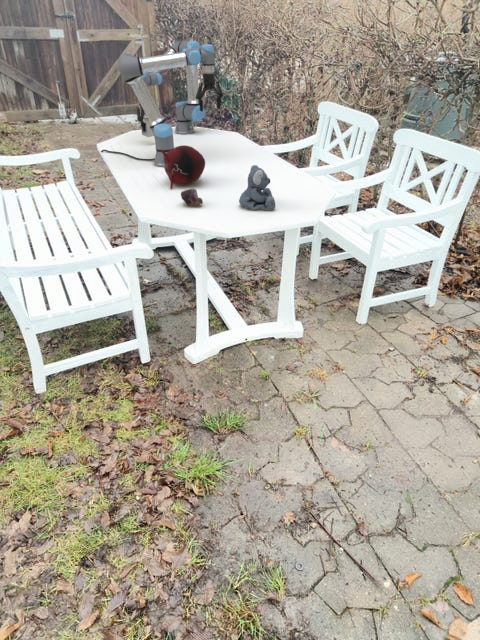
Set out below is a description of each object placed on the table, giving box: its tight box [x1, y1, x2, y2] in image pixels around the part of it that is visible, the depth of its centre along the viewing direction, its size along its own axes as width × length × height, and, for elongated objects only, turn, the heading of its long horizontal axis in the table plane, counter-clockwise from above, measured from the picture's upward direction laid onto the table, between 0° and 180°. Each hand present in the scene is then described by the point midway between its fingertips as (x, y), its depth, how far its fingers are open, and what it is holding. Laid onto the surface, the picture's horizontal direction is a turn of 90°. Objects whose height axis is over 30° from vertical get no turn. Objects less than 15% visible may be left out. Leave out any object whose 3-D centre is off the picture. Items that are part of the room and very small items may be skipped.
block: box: [140, 119, 154, 138], centre depth 331 cm, size 6×9×10 cm
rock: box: [180, 188, 204, 207], centre depth 229 cm, size 12×9×10 cm
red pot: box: [161, 145, 206, 190], centre depth 256 cm, size 21×24×25 cm
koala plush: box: [238, 164, 276, 211], centre depth 224 cm, size 17×18×20 cm
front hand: (210, 109), depth 294 cm, fingers open, 13 cm apart
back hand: (147, 130), depth 331 cm, fingers closed on block, 6 cm apart
